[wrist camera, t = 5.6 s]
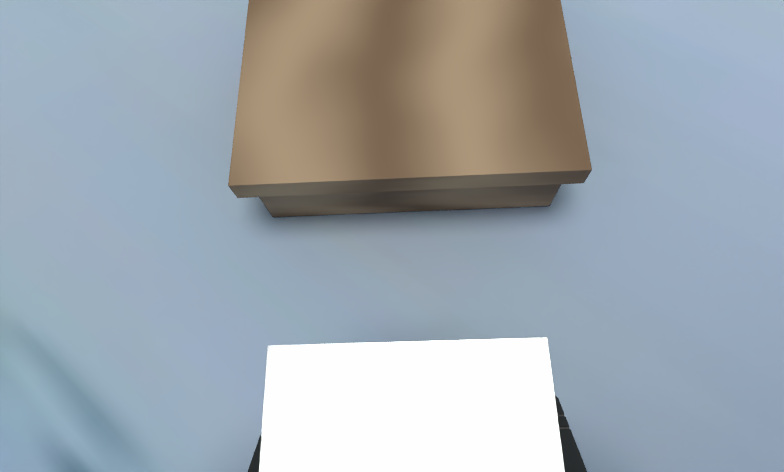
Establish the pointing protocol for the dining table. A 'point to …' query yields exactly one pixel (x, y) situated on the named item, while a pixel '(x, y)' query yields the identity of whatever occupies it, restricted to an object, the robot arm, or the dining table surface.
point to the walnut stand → (406, 106)
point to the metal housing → (411, 407)
